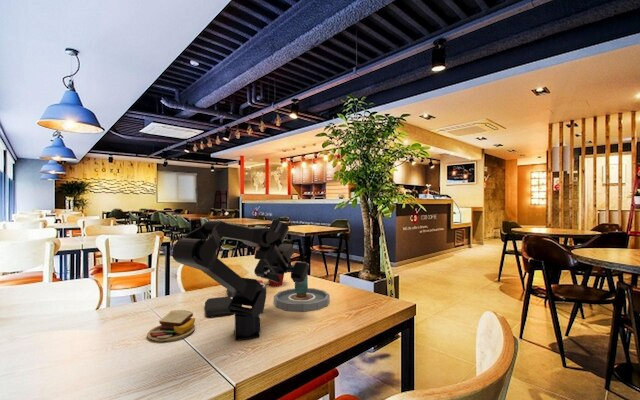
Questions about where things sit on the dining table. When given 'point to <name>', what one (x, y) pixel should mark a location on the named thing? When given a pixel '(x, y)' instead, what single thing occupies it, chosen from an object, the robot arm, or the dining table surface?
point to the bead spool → (302, 290)
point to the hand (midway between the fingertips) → (290, 283)
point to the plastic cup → (276, 282)
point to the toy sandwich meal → (173, 326)
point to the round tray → (289, 304)
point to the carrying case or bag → (217, 306)
